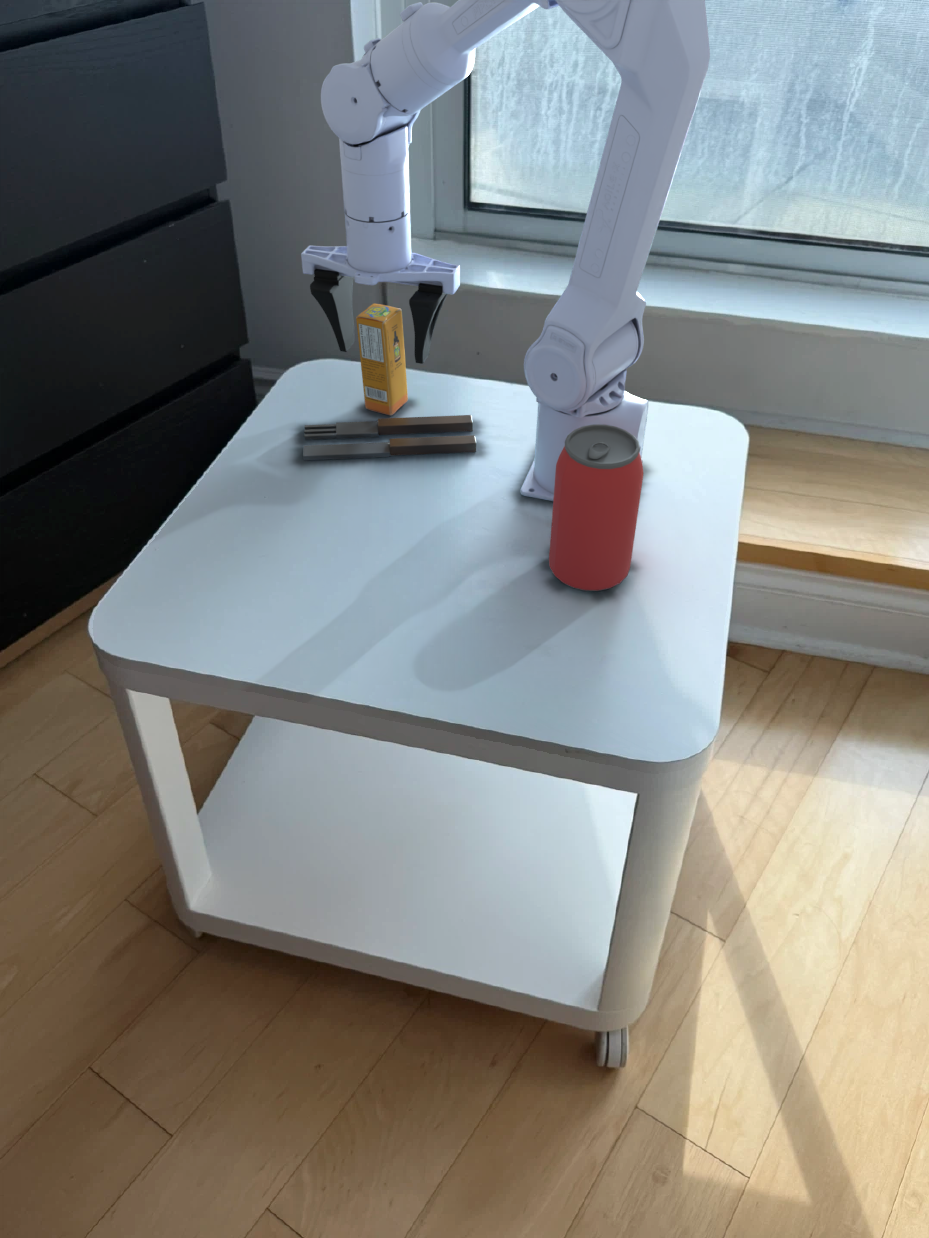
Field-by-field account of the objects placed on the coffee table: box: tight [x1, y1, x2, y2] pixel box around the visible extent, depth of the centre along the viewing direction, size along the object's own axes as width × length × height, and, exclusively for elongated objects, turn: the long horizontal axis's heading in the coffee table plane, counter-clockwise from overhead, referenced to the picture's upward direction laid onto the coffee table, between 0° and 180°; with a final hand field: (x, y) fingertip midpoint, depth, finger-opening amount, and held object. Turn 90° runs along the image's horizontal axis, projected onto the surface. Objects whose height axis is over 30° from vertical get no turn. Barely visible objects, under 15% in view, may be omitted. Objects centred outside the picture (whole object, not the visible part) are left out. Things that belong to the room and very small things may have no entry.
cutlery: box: [302, 414, 477, 461], centre depth 101 cm, size 16×6×1 cm, turn 95°
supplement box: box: [355, 303, 409, 416], centre depth 102 cm, size 3×3×10 cm
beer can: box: [548, 424, 645, 592], centre depth 83 cm, size 7×7×12 cm
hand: (384, 352), depth 102 cm, fingers open, 7 cm apart
